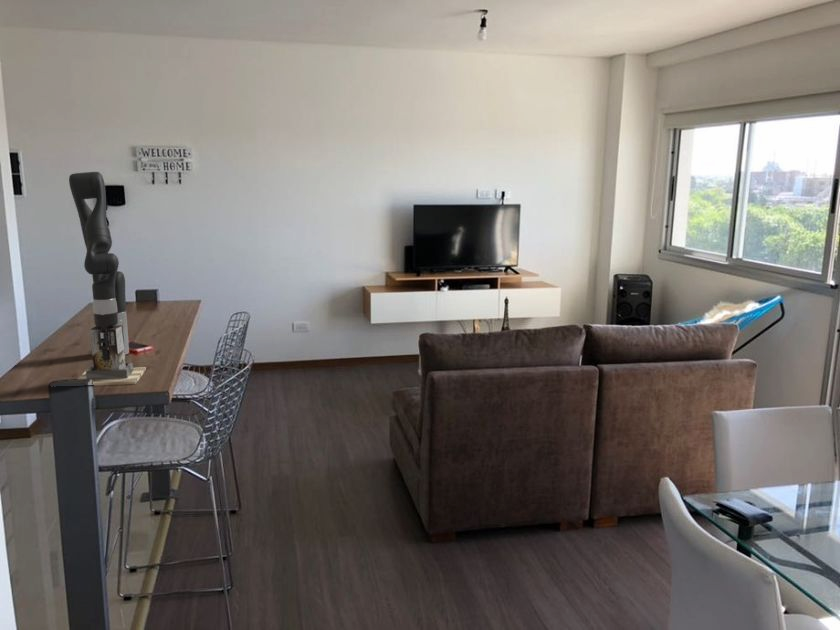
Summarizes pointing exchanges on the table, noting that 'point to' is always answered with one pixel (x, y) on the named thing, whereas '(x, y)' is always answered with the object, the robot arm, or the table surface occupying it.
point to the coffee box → (115, 350)
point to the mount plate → (114, 375)
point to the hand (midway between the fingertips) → (109, 357)
